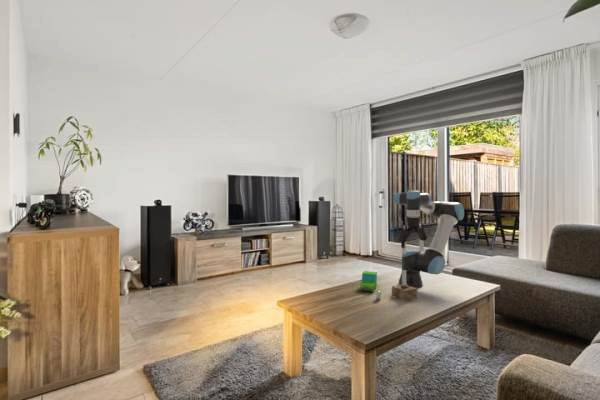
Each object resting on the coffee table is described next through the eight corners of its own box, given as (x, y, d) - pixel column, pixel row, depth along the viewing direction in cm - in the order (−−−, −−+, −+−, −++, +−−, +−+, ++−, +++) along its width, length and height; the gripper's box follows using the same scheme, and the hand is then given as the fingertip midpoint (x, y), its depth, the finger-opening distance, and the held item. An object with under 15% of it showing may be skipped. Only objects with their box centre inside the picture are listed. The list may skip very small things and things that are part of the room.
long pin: (401, 296, 201) (401, 270, 200) (404, 296, 202) (404, 269, 201) (404, 298, 199) (404, 271, 198) (407, 297, 200) (407, 270, 199)
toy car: (358, 291, 210) (358, 275, 210) (362, 285, 223) (362, 270, 222) (374, 293, 207) (374, 277, 206) (378, 287, 219) (378, 272, 218)
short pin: (375, 299, 196) (375, 291, 196) (378, 299, 197) (378, 290, 197) (378, 301, 194) (378, 292, 193) (381, 300, 195) (381, 291, 195)
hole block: (391, 295, 203) (392, 286, 202) (404, 293, 207) (404, 283, 207) (403, 301, 194) (404, 290, 193) (416, 298, 198) (417, 288, 198)
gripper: (401, 218, 191) (401, 255, 192) (433, 216, 201) (433, 251, 203) (392, 217, 197) (392, 253, 199) (424, 214, 208) (423, 248, 209)
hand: (412, 252), depth 201 cm, fingers open, 13 cm apart
